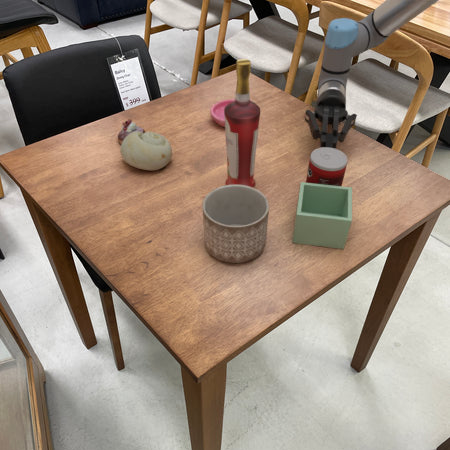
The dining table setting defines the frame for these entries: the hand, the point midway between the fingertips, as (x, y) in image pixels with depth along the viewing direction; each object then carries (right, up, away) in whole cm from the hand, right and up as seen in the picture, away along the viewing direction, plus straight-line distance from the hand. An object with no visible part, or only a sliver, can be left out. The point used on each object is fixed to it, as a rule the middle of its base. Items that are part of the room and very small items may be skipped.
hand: (328, 153), depth 100 cm
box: (-4, -19, -6) cm, 20 cm away
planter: (-22, -22, -9) cm, 32 cm away
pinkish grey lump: (-48, +9, +16) cm, 52 cm away
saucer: (-22, +16, +22) cm, 35 cm away
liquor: (-20, -7, +3) cm, 22 cm away
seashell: (-43, 0, +9) cm, 44 cm away
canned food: (-2, -11, 0) cm, 11 cm away
